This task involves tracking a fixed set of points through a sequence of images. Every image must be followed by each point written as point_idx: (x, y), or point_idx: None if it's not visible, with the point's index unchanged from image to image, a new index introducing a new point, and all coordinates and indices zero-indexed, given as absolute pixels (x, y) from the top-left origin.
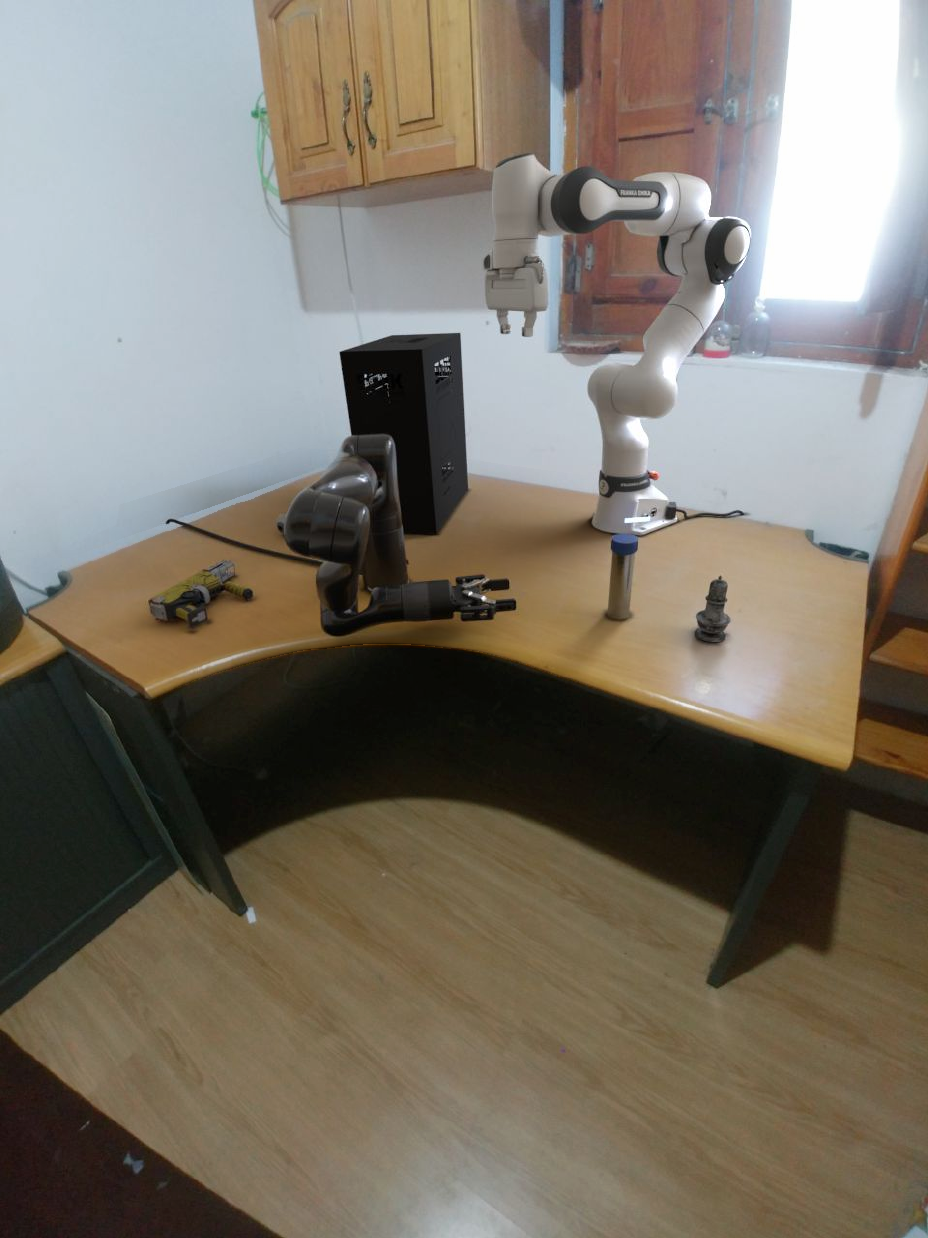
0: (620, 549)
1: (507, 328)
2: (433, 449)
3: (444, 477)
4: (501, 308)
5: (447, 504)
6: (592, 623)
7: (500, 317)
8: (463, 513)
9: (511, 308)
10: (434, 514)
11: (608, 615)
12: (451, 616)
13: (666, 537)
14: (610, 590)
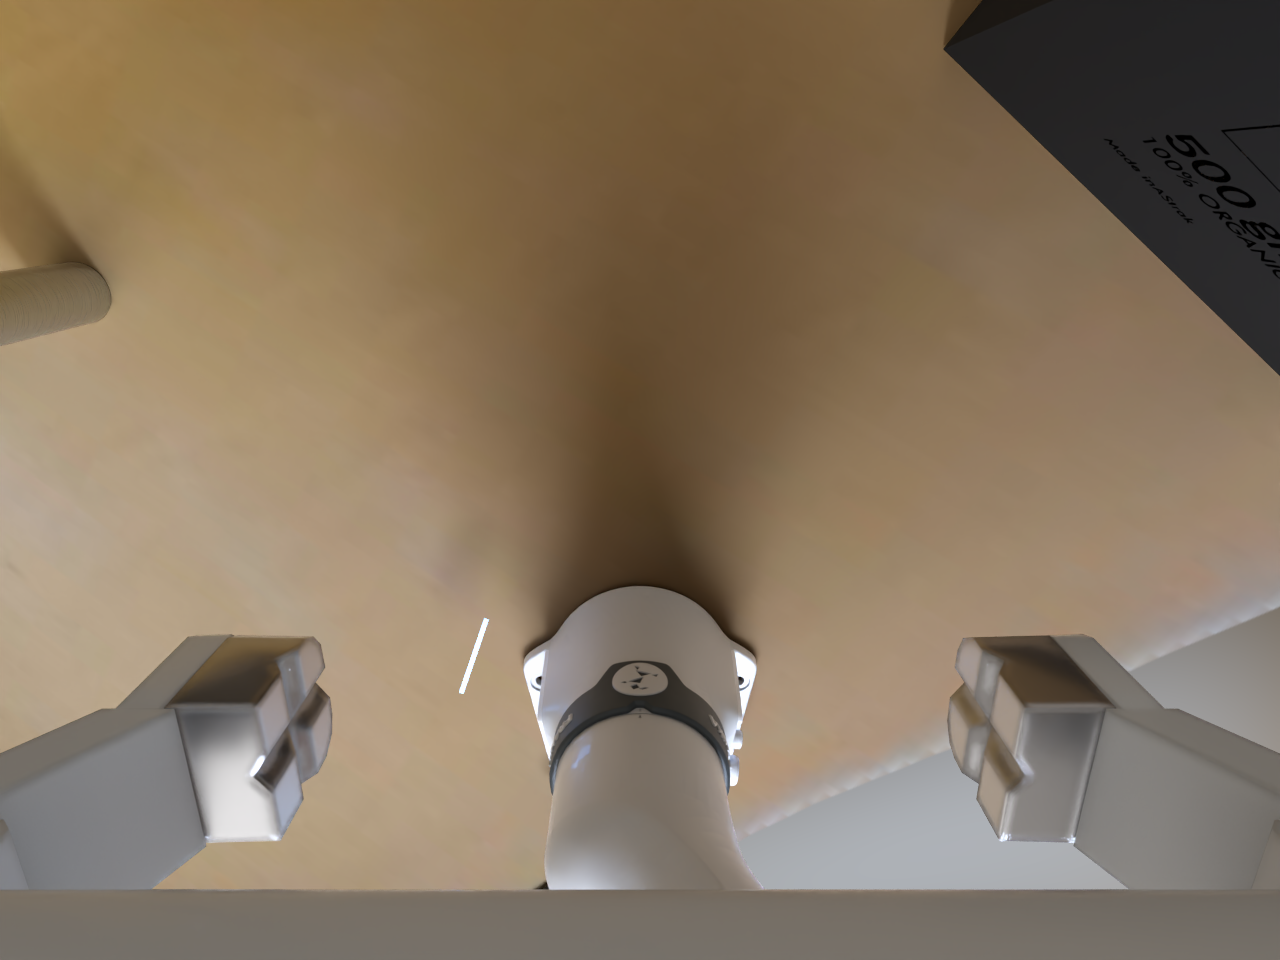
0: None
1: (986, 747)
2: (1196, 14)
3: (1179, 163)
4: (1108, 904)
5: (1109, 179)
6: (53, 196)
7: (1268, 826)
8: (1080, 262)
9: (400, 910)
10: (980, 31)
11: (77, 262)
12: None
13: (480, 706)
14: (18, 271)
